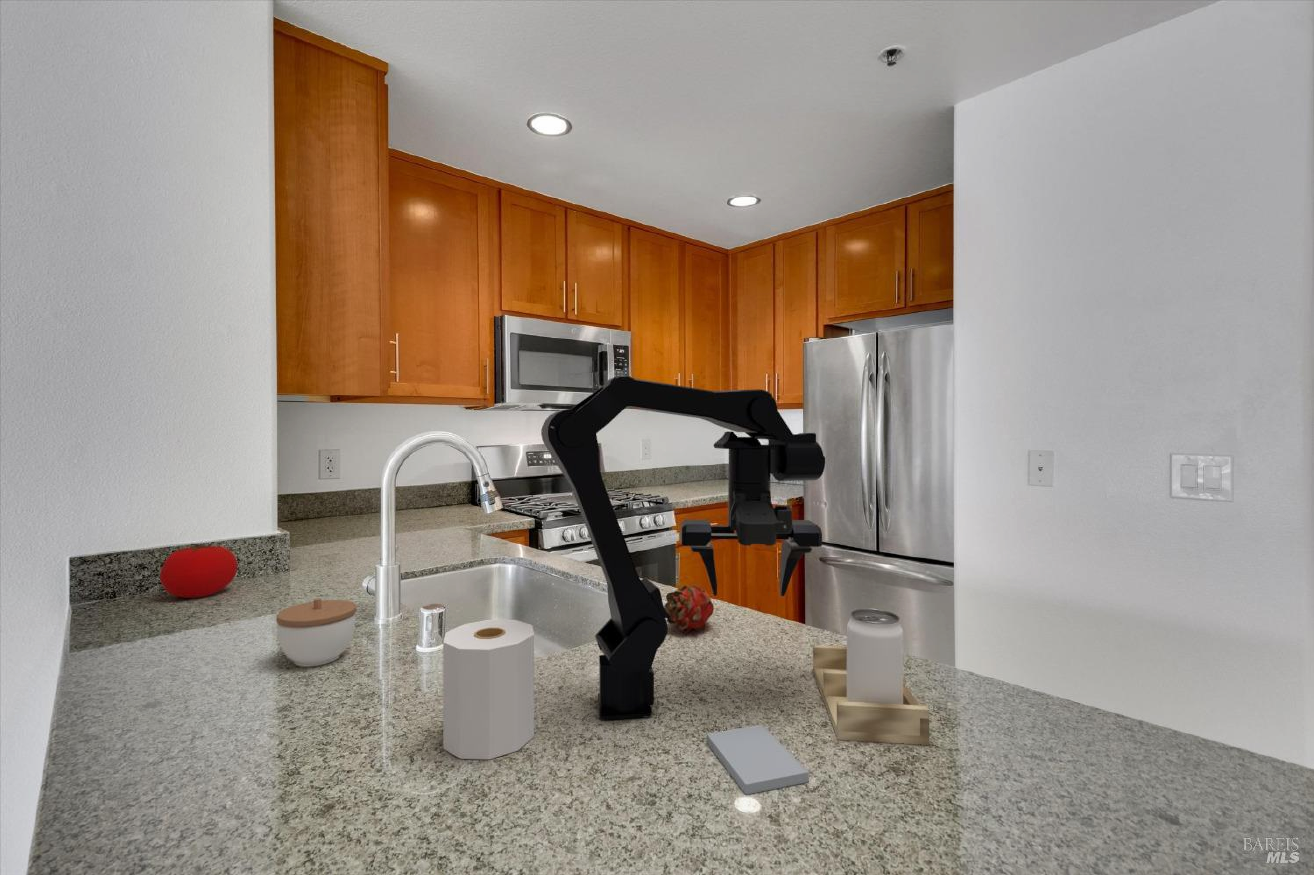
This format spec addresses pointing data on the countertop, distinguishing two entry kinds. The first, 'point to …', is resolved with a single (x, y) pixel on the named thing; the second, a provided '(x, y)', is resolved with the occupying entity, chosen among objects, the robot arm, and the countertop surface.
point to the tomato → (198, 571)
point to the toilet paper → (488, 688)
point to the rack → (866, 706)
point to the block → (756, 759)
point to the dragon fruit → (689, 608)
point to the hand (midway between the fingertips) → (748, 595)
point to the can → (874, 657)
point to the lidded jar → (316, 631)
